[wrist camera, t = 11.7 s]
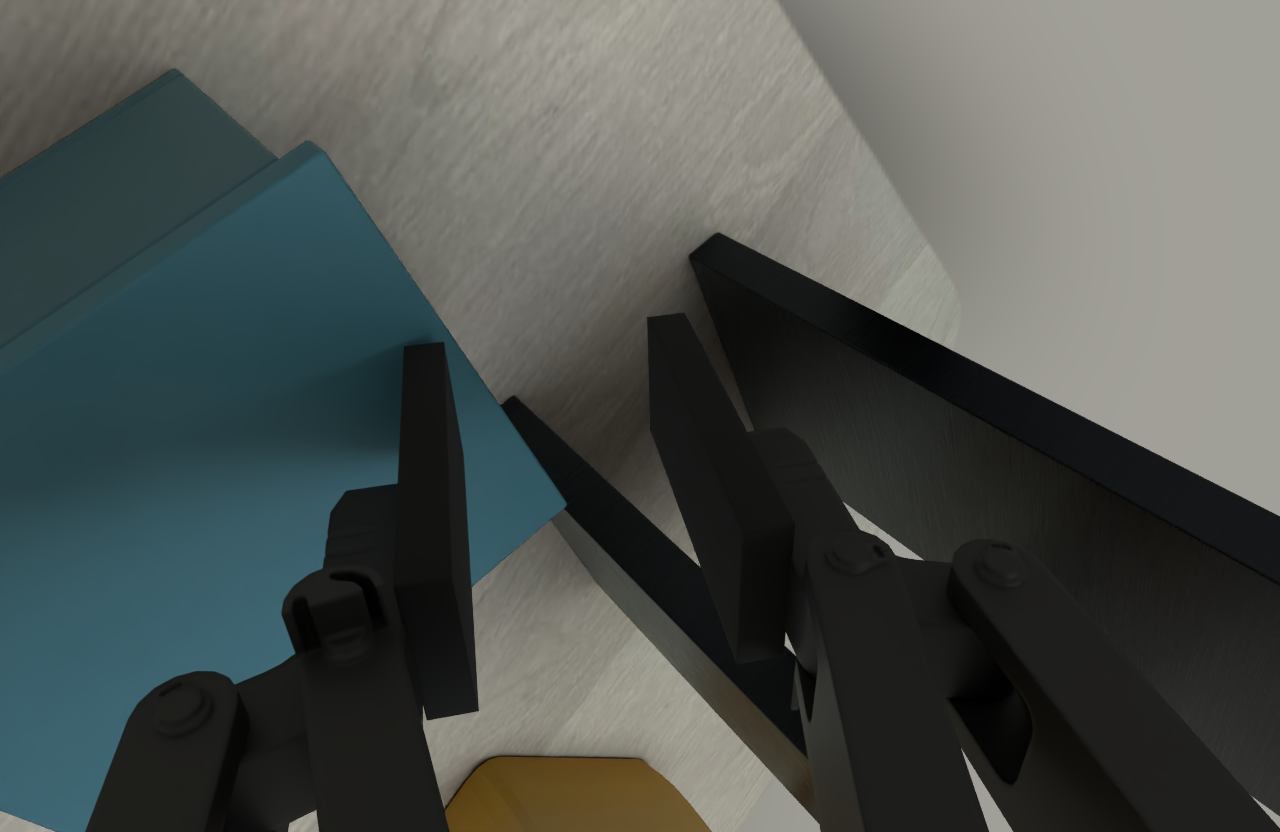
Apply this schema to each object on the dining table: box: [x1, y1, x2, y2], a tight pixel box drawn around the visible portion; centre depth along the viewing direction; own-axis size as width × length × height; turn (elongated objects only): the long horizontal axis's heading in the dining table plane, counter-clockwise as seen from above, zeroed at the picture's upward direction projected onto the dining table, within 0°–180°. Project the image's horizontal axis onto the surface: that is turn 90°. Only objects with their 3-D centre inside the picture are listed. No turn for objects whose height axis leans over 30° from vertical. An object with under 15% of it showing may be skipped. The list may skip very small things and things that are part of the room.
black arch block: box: [501, 233, 1280, 823], centre depth 26 cm, size 11×11×27 cm
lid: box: [0, 141, 567, 832], centre depth 17 cm, size 12×10×1 cm
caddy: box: [0, 69, 279, 349], centre depth 20 cm, size 11×10×8 cm
